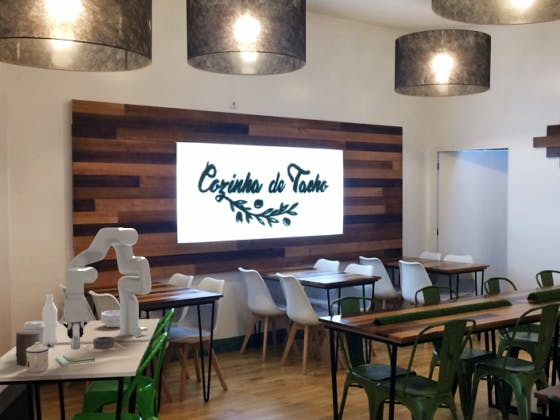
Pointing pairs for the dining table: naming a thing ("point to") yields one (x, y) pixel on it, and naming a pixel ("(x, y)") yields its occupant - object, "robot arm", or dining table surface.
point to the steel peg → (75, 335)
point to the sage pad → (65, 361)
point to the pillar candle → (25, 344)
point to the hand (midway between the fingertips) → (75, 336)
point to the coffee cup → (36, 328)
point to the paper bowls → (111, 318)
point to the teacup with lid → (37, 358)
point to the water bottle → (49, 321)
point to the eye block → (103, 344)
